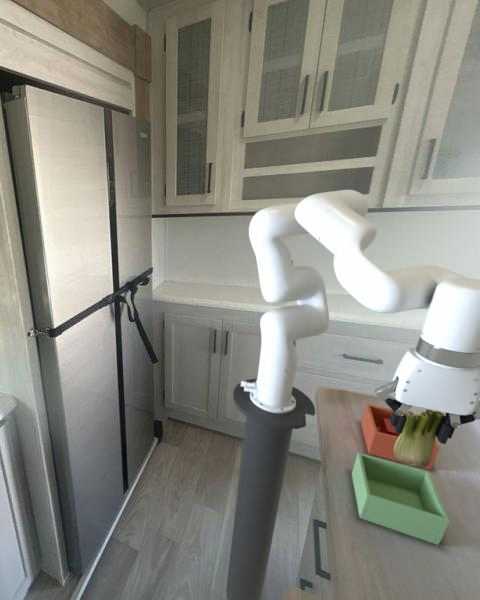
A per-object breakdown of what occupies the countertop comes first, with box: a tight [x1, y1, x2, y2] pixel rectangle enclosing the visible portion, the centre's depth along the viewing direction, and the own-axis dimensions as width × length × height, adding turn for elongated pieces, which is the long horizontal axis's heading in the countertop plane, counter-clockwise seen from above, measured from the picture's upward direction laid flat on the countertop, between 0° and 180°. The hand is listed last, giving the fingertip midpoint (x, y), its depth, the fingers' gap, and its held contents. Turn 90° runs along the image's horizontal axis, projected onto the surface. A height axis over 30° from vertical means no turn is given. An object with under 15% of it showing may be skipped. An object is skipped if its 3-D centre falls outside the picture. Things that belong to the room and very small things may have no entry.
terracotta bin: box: [360, 403, 440, 471], centre depth 82 cm, size 11×11×7 cm
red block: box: [379, 418, 401, 437], centre depth 82 cm, size 5×5×5 cm
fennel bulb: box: [394, 409, 445, 468], centre depth 63 cm, size 6×5×12 cm
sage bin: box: [351, 452, 451, 546], centre depth 69 cm, size 12×12×7 cm
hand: (417, 432), depth 62 cm, fingers closed on fennel bulb, 5 cm apart
